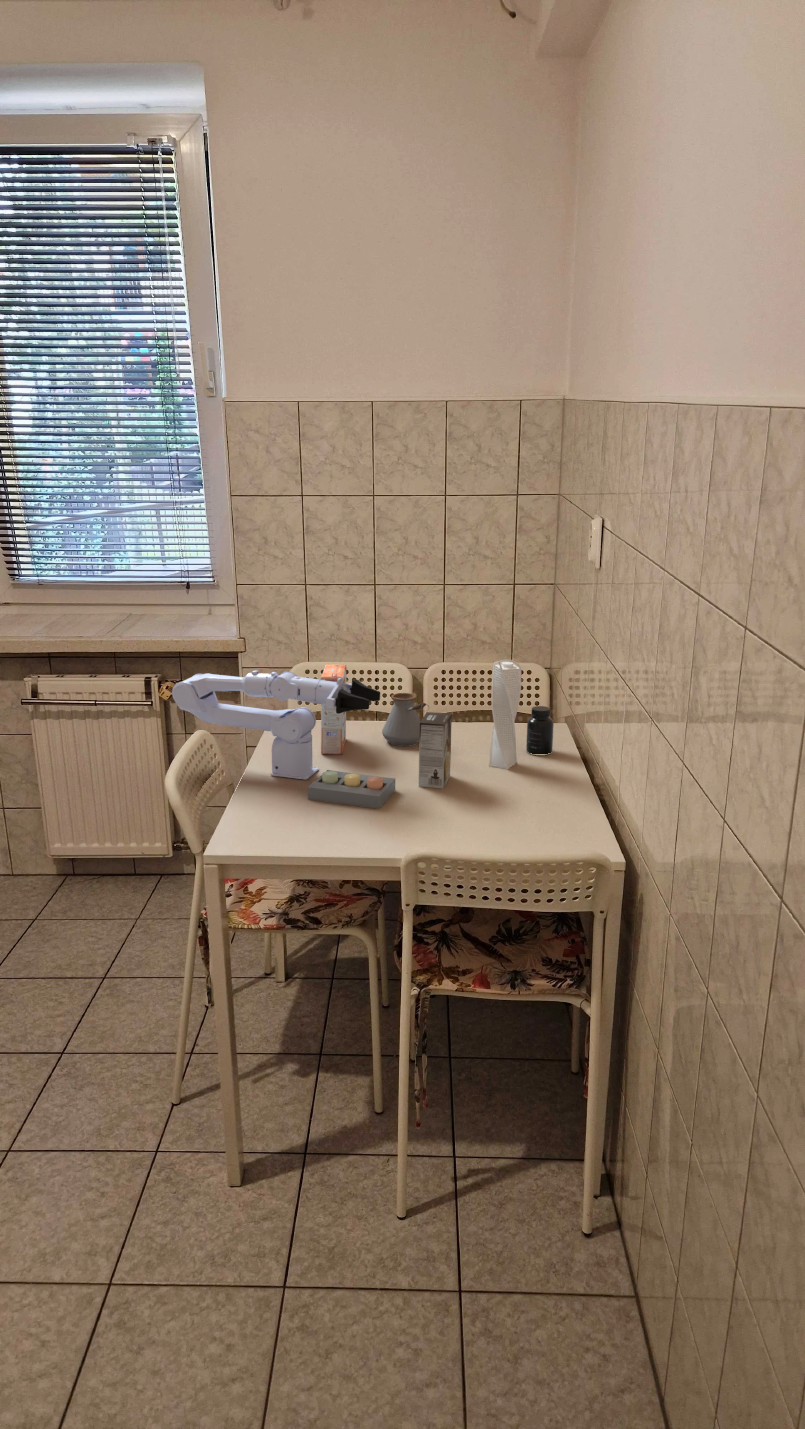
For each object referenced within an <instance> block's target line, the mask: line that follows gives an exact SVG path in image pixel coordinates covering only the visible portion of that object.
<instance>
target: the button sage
mask: <svg viewBox="0 0 805 1429" xmlns="http://www.w3.org/2000/svg"><path fill="white" fill-rule="evenodd" d="M334 771H335V770H331V771H327V770H326V771H323V772H321V775H322V783H330V784H336V783H337V782H338V773H337V772H334Z"/></svg>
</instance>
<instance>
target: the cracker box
mask: <svg viewBox="0 0 805 1429" xmlns="http://www.w3.org/2000/svg"><path fill="white" fill-rule="evenodd" d="M338 678H342V682H343V683H346V684H347V665H346V664H341V663H340V664H337V663H336V664H333V663H331V664H330V663H326V664H325V666H324V669H323V672H322V674H321V677H320V680H325V681H332V682H337V679H338ZM320 716H321V717H320V719H321V720H320V729H321V730H320V754H321V755H337V756H338V755H339V756H341V755H343V751H344V747H345V742H346V736H347V735H346V734H347V733H346V732H347V731H346V730H347V724H346V723H347V711H346V712H343V713H340V714H338V713H336V707H334V708H331V707H326V705H322V704H320Z"/></svg>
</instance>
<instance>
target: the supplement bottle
mask: <svg viewBox="0 0 805 1429" xmlns="http://www.w3.org/2000/svg"><path fill="white" fill-rule="evenodd" d="M530 715H531V716H530V717H529V718H528V719H527V721H526V722H527V723H526V746H525V747H526V748H525V749H526V752H527V753H528V752H529V753H532V754H548V753H551V752H553V747H554V746H553V742H554V720H553V719H552V718H551V708H550V707H549V706H543V705H536V706H533V707H531V714H530ZM529 753H528V754H529ZM551 754H552V753H551Z"/></svg>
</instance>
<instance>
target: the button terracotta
mask: <svg viewBox="0 0 805 1429" xmlns="http://www.w3.org/2000/svg"><path fill="white" fill-rule="evenodd" d="M381 777H382V776H380V777H369V778H368V779H367V788H369V789H377V790H381V789H382V788H383V779H382V778H381Z"/></svg>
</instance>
